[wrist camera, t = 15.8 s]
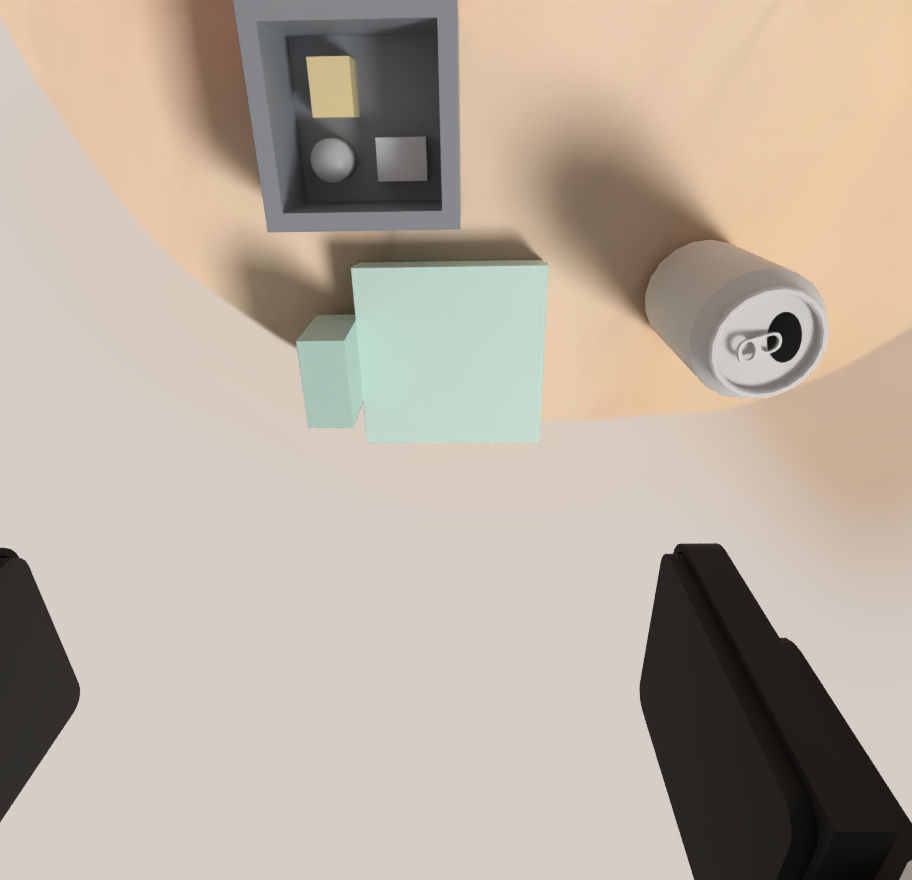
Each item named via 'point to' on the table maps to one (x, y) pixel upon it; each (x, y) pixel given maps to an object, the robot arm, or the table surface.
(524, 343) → the mint green stepped block
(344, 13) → the tub
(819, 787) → the robot arm
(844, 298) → the table surface
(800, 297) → the can
